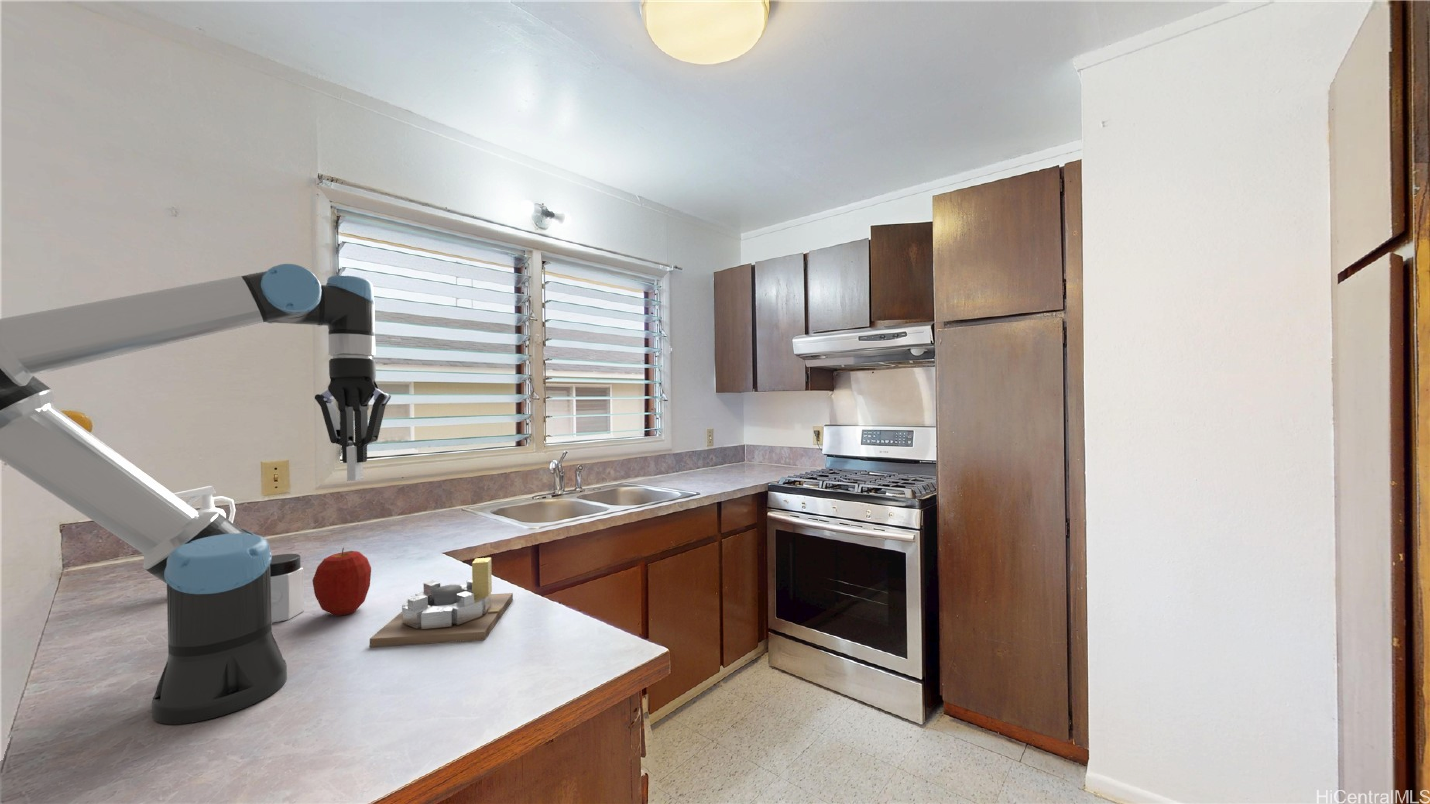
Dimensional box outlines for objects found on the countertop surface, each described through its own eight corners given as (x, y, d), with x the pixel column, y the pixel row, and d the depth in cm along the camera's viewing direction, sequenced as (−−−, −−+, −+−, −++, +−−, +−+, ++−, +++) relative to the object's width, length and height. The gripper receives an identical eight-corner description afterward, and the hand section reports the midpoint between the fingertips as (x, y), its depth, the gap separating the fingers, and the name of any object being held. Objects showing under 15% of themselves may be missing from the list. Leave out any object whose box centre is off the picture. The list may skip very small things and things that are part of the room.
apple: (359, 600, 121) (358, 538, 121) (381, 609, 116) (380, 544, 115) (304, 616, 112) (303, 549, 112) (326, 626, 107) (324, 556, 107)
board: (484, 639, 100) (484, 604, 100) (369, 647, 98) (368, 611, 98) (512, 599, 120) (512, 570, 120) (417, 605, 118) (417, 575, 117)
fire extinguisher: (252, 583, 133) (245, 482, 132) (185, 601, 123) (177, 492, 122) (243, 579, 137) (235, 481, 136) (177, 596, 126) (168, 490, 126)
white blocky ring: (392, 631, 100) (391, 578, 100) (420, 601, 115) (419, 554, 115) (481, 623, 103) (480, 571, 103) (497, 595, 118) (497, 549, 118)
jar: (245, 628, 107) (244, 568, 106) (252, 615, 113) (251, 558, 113) (302, 617, 112) (301, 560, 111) (305, 605, 118) (304, 551, 118)
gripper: (397, 359, 109) (399, 475, 109) (328, 359, 107) (330, 477, 108) (378, 356, 101) (381, 481, 102) (303, 356, 100) (306, 483, 100)
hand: (355, 479), depth 105 cm, fingers closed
